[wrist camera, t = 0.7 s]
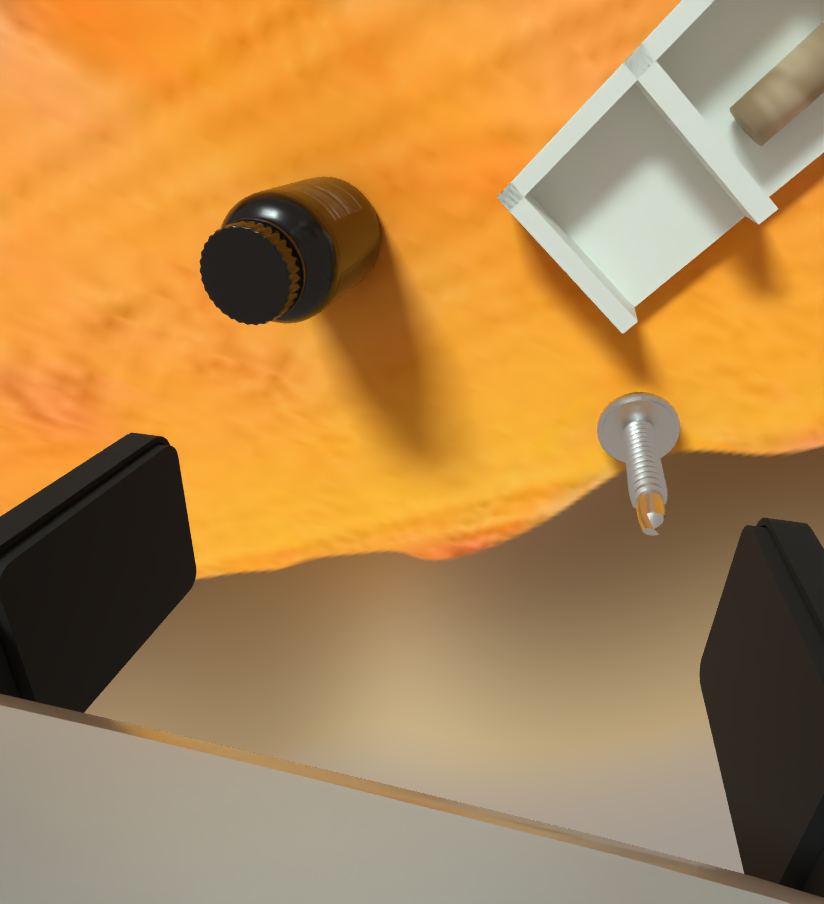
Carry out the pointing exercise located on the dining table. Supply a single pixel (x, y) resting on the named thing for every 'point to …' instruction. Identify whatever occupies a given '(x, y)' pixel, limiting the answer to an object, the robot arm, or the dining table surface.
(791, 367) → the dining table surface
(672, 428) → the screw
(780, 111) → the cork
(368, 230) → the supplement bottle
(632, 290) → the rack
